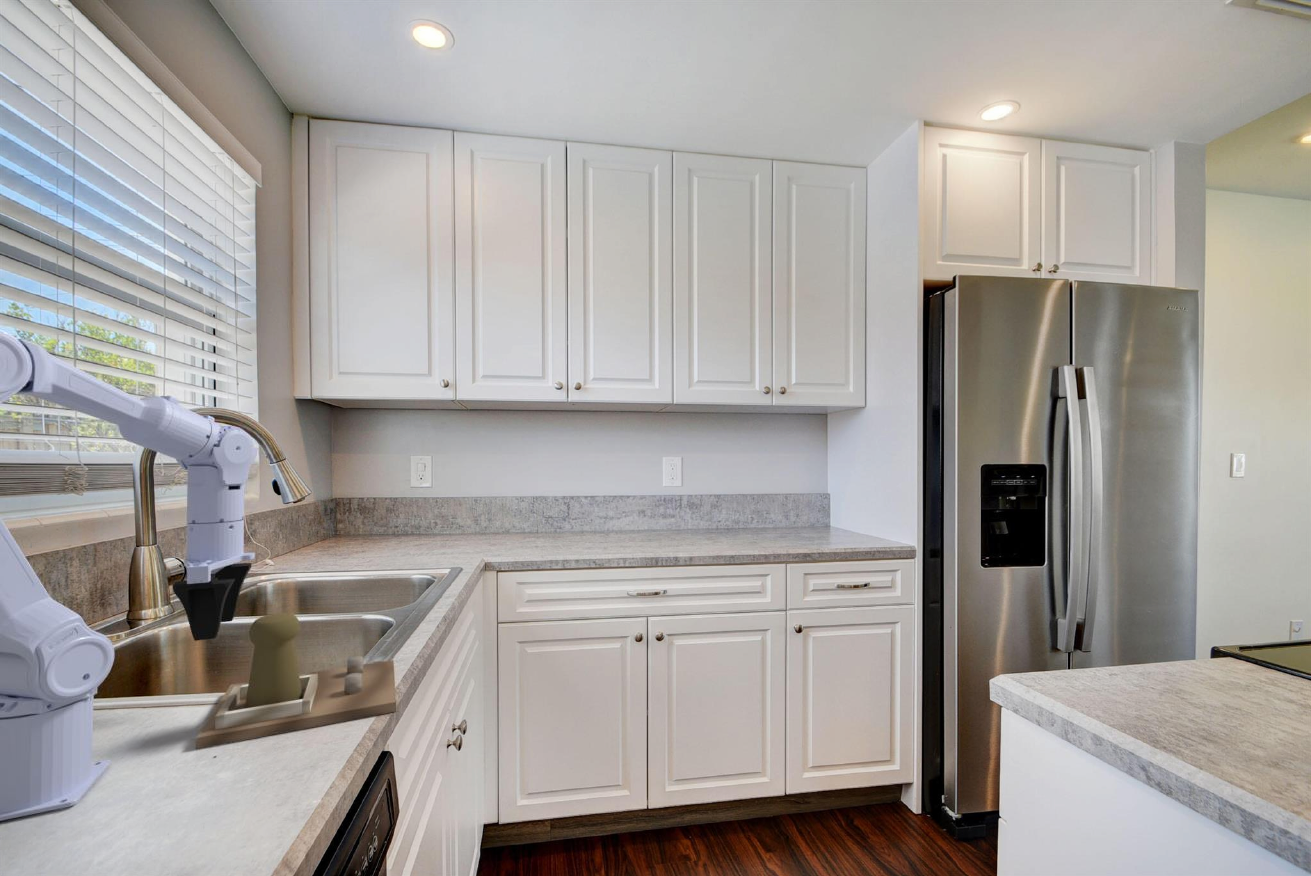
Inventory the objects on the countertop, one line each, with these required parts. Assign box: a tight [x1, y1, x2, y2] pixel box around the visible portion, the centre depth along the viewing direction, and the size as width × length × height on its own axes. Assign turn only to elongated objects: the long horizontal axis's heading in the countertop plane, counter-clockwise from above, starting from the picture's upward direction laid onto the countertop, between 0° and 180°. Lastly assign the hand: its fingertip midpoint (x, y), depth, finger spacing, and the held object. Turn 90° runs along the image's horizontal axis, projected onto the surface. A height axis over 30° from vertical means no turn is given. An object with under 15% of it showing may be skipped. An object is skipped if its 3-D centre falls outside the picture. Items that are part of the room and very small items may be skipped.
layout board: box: [195, 655, 397, 750], centre depth 74 cm, size 20×16×3 cm
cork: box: [245, 612, 303, 709], centre depth 71 cm, size 6×6×11 cm
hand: (214, 629), depth 71 cm, fingers open, 7 cm apart
